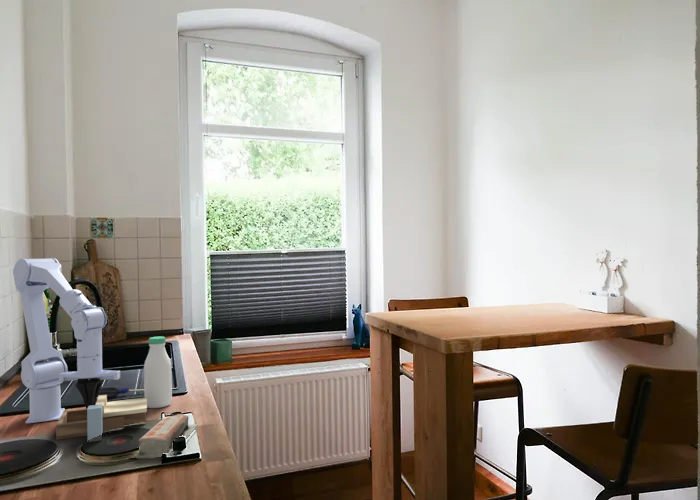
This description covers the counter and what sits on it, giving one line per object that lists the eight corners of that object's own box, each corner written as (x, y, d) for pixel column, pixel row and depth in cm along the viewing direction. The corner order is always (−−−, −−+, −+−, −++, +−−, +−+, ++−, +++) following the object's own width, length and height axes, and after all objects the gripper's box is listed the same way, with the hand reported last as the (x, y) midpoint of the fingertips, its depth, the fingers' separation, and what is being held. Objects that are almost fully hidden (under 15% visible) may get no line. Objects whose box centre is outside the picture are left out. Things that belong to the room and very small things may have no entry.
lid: (98, 406, 134) (98, 395, 134) (146, 400, 139) (146, 390, 139) (95, 418, 124) (94, 406, 124) (146, 411, 129) (146, 400, 129)
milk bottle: (177, 403, 148) (176, 336, 148) (154, 410, 142) (153, 340, 142) (161, 399, 152) (160, 334, 152) (138, 406, 146) (137, 338, 146)
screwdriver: (178, 388, 165) (178, 377, 165) (179, 391, 162) (179, 379, 162) (90, 398, 155) (90, 386, 155) (89, 401, 152) (89, 389, 152)
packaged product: (174, 438, 109) (128, 439, 109) (174, 460, 109) (129, 461, 109) (198, 411, 127) (159, 412, 127) (198, 430, 127) (159, 431, 127)
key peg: (88, 438, 121) (88, 405, 121) (102, 436, 122) (102, 404, 122) (87, 442, 118) (87, 409, 118) (101, 441, 119) (101, 407, 119)
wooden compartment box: (63, 424, 132) (63, 411, 132) (145, 413, 139) (145, 401, 139) (56, 439, 120) (56, 425, 121) (145, 427, 128) (145, 414, 128)
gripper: (124, 351, 133) (125, 402, 133) (68, 352, 132) (69, 403, 132) (113, 357, 126) (114, 410, 126) (54, 358, 125) (55, 412, 125)
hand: (90, 407), depth 128 cm, fingers closed
